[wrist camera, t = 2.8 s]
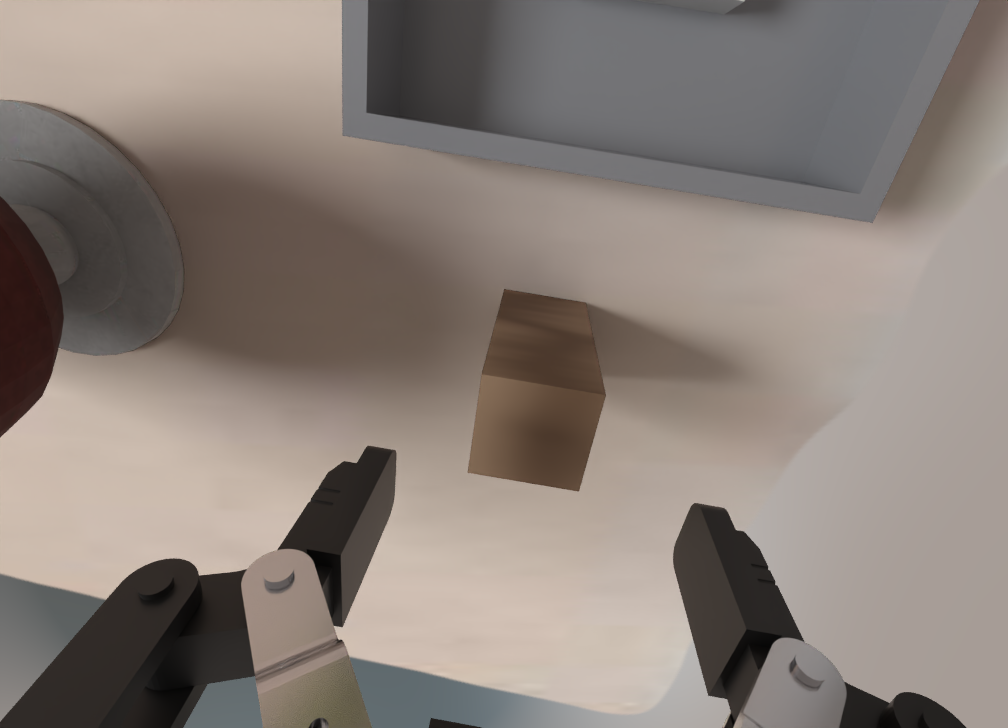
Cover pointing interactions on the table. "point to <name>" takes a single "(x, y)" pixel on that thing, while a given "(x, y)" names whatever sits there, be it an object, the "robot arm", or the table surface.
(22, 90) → the table surface
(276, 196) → the table surface
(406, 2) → the grey square tray
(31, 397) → the mate gourd
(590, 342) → the brown block
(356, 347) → the table surface
